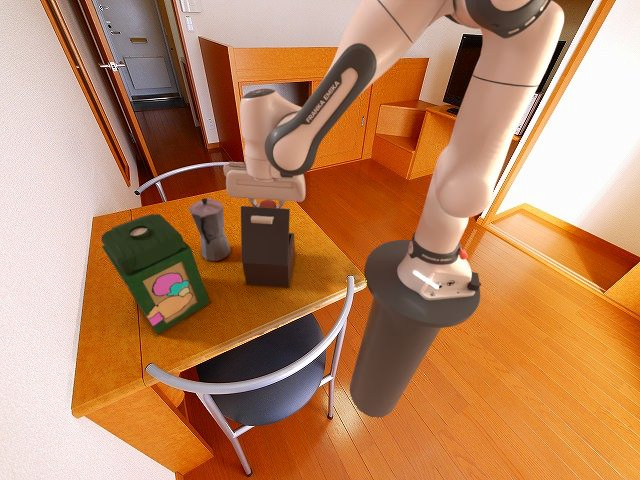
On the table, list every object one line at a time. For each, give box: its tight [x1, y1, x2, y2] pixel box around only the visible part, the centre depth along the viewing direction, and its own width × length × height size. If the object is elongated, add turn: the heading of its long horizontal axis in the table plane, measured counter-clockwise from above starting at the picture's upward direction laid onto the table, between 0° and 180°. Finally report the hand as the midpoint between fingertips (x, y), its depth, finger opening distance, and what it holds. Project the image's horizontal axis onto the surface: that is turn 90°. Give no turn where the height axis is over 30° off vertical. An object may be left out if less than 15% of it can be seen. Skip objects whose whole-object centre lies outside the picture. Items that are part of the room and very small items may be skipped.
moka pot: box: [188, 197, 231, 262], centre depth 84 cm, size 10×15×20 cm, turn 14°
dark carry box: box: [241, 232, 296, 288], centre depth 84 cm, size 15×13×9 cm
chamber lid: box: [240, 205, 291, 265], centre depth 71 cm, size 15×13×5 cm
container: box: [101, 213, 211, 336], centre depth 67 cm, size 15×18×25 cm
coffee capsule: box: [259, 199, 277, 208], centre depth 76 cm, size 4×4×4 cm
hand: (268, 211), depth 76 cm, fingers closed on coffee capsule, 4 cm apart
